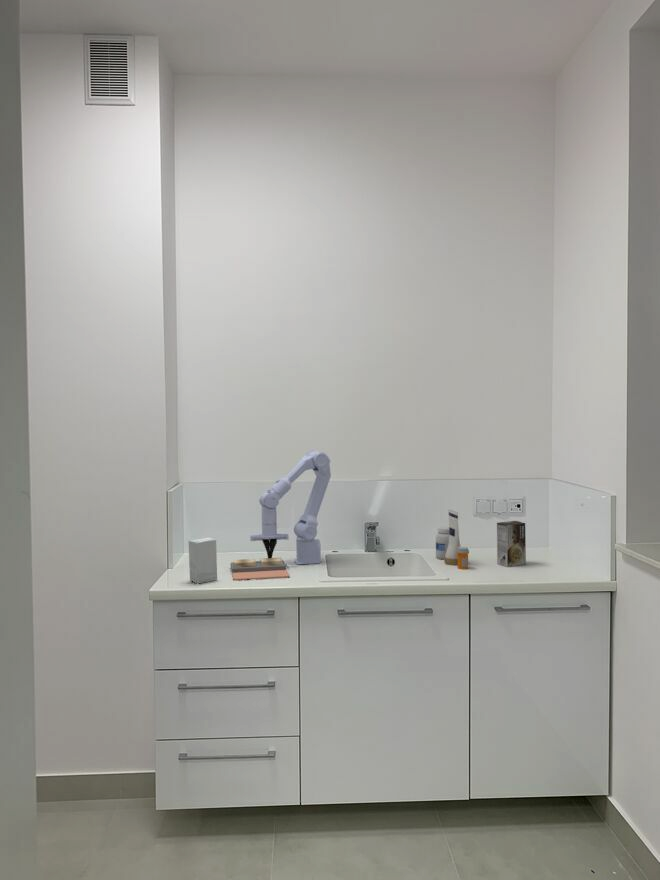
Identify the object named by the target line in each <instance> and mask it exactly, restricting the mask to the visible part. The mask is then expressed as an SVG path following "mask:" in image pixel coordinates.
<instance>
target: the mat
mask: <svg viewBox="0 0 660 880" xmlns="http://www.w3.org/2000/svg"><path fill="white" fill-rule="evenodd" d="M231 575H233V576H232V580H233V579H234V580H238V581H249V580H250V581H251V579H256V580H268V579H269V580H270V578H273V579H286V578H288V577H290V578H291V576H290V573H289V571H288V570H287V569H286V570H274V571H256V572H238V573H232V572H231ZM247 579H249V580H247ZM234 580H233V581H234Z"/></svg>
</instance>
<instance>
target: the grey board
mask: <svg viewBox="0 0 660 880" xmlns="http://www.w3.org/2000/svg"><path fill="white" fill-rule="evenodd" d="M255 561H256V560H255ZM274 570H287V565H286V563H285V561H284V560H283V565H273V566H261V564H260V560H257V561H256V566H254V567H234V561H233V562H230V571H231V574H232V573H238V572H256V571H274Z"/></svg>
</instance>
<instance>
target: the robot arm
mask: <svg viewBox="0 0 660 880" xmlns="http://www.w3.org/2000/svg"><path fill="white" fill-rule="evenodd" d="M330 463H331V459H330V458H329V456H328V454H327V453H325V452H324V451H316V450H310V451H308V452H307V453H306V454H305V455H304V456H302V458H301V459H300V460H299V461H298V462H297V464H296V465H295V466H294V467H293V468H292V470H291V471H290V472H289V473H287V475H286V476H285V477H280V478H277V479H276V480H275V483H274V484H273V485H272V486H271V487H270V488H267V490H266V492H263V493H262V494H261V495H260V498H259V499H258V502H259V504H260V506H261V534H254V535H252V534H250V542H256V541H262V544H263V546H264V548H265V550H266V555H267V556H266V557H267V558H273V554H274V551H275V547H276V546H277V543H278V541H281V540H288V541H289V534H288V533H278V526H277V525H278V523H277V520H278V519H277V506H278V505H279V502H280V500H281V499H282V498H283V497H284V496H285V495H286V494H287V493H288V492H289V491H290V490H291V489H292V484H293V483H294V481H296V480H297V479H298V478H299V477H300V476H301V475H303V473H304V472H306V471H308V470H312V471H313V472H314V474H315V479H314V483H313V485H312V487H311V488H312V489H311V492H310V495H309V497H308V500H307V504H306V507H305V509H304V512H303V514H302V515H301V516H300V517H299V518H298V521H297V522H296V523H295V525H294V527H293V531H294V534H295V536H296V538H295V539H296V541H295V543H296V546H295V547H296V558H294V562H295V563H296V564H297V565H308V564H311V565H312V564H321V563H322V561H321V557H322V556H321V555H322V552H321V551H322V549H321V541H320V539H315V538H316V537H317V534H318V529H317V527H318V524H319V523H318V520H317V519H318V516H319V515H318V514H319V512H320V508H321V505H322V503H323V500H324V498H325V494H326V491H327V488H328V485H329V482H330V479H331V475H332V474H331V466H330Z"/></svg>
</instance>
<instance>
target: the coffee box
mask: <svg viewBox="0 0 660 880" xmlns="http://www.w3.org/2000/svg"><path fill="white" fill-rule="evenodd" d="M526 539H527V538H526V522H522V521H519V520H509V521H508V520H507V521H501V522H496V544H497V545H496V548H497V549H496V552H497V553H496V557H497V558H496V563H497V565H499V566H503V567H506V568H509V567H516V566H523V565H526V564H527V558H526V556H527V554H526V553H527V551H526V549H527V546H526V543H527V542H526Z"/></svg>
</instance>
